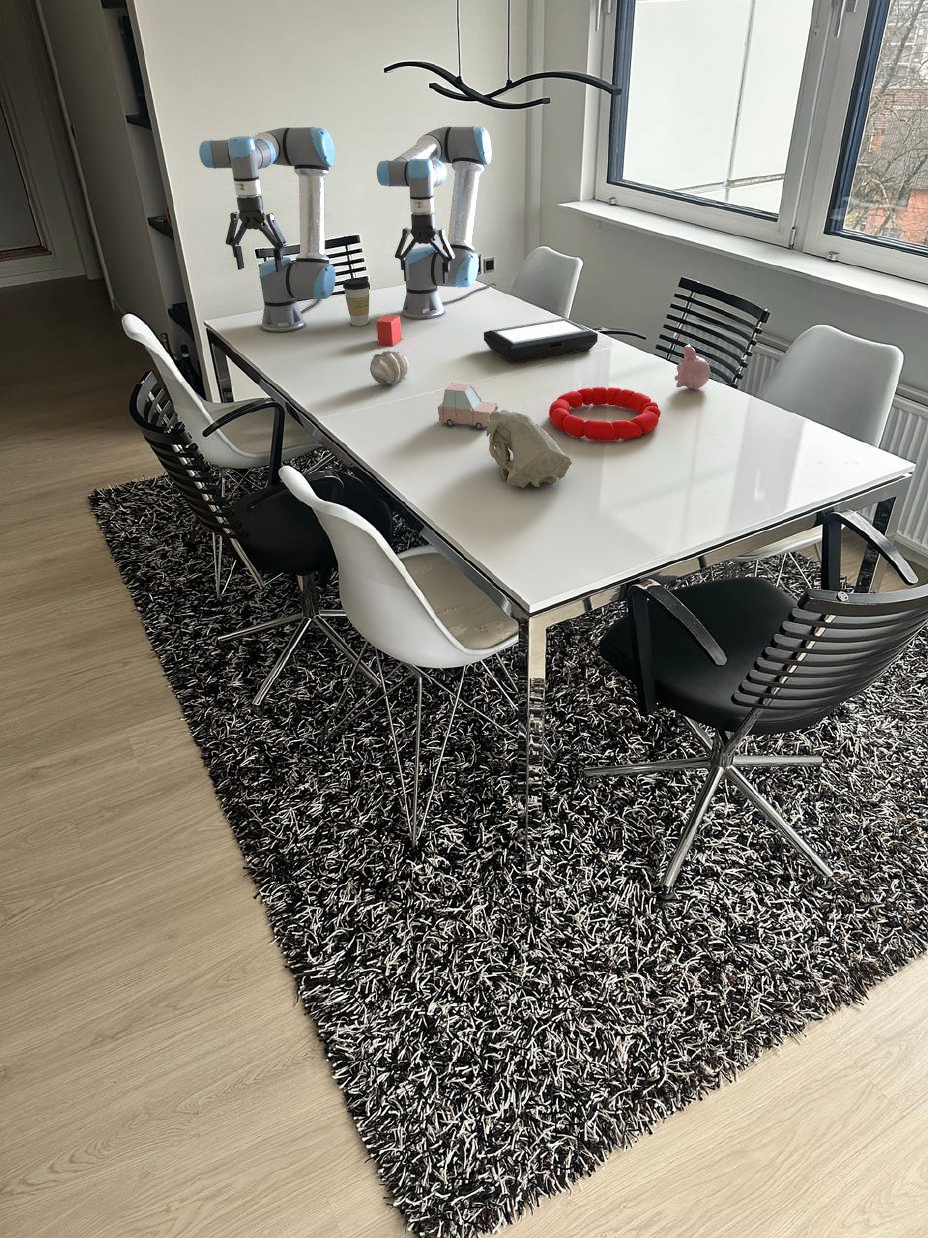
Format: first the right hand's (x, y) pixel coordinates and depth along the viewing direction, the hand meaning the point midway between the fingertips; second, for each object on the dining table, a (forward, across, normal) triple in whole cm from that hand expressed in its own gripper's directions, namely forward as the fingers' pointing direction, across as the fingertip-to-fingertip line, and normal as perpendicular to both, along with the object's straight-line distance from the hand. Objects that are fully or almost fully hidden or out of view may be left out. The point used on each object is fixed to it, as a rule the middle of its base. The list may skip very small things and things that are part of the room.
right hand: (425, 281), depth 297 cm
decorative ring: (+20, +71, -59) cm, 95 cm away
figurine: (+20, +91, -29) cm, 98 cm away
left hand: (-9, -43, -32) cm, 55 cm away
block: (+20, -13, -5) cm, 24 cm away
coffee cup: (+20, -31, +14) cm, 39 cm away
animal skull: (+20, +56, -94) cm, 112 cm away
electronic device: (+20, +40, -2) cm, 45 cm away
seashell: (+20, +3, -44) cm, 48 cm away
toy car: (+20, +35, -69) cm, 80 cm away
